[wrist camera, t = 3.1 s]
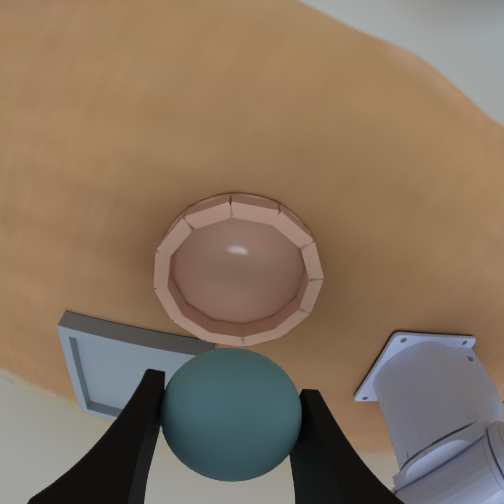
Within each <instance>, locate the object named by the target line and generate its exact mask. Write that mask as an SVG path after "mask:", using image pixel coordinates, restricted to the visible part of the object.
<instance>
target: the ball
mask: <svg viewBox="0 0 504 504" xmlns="http://www.w3.org/2000/svg"><path fill="white" fill-rule="evenodd" d="M160 421H161V427H162V431H163V434H164V437H165V439H166V441H167V444H168V445H169V447H170V449H171V450H172V452H173V453H174V454H175V455H176V457H178V459H179V460H180V461H181V462H182V463H184V464H185V465H186V466H187V467H189V468H190V469H191V470H193V471H195V472H197V473H199V474H200V475H203V476H205V477H208V478H211V479H215V480H220V481H231V482H232V481H233V482H234V481H244V480H249V479H253V478H256V477H259V476H262V475H263V474H265V473H267V472H269V471H271V470H273V469H274V468H275V467H277V466H278V465H279V464H280V463H282V462H283V460H284V459H285V458H286V457H287V456H288V455H289V454H290V452H291V451H292V449H293V447H294V446H295V444H296V442H297V439H298V437H299V433H300V429H301V425H302V407H301V402H300V399H299V395H298V392H297V390H296V388H295V386H294V384H293V382H292V381H291V379H290V378H289V376H288V375H287V374H286V373H285V372H284V371H283V370H282V369H281V368H280V367H279V366H278V365H277V364H276V363H274V362H273V361H271V360H270V359H268V358H267V357H265V356H263V355H261V354H258V353H255V352H252V351H249V350H245V349H239V348H221V349H215V350H211V351H207V352H204V353H202V354H199V355H197V356H195V357H193V358H192V359H190V360H189V361H187V362H186V363H185V364H183V365H182V366H181V367H180V368H179V369H178V370H177V371H176V372H175V373H174V375H173V376H172V378H171V379H170V381H169V382H168V384H167V386H166V388H165V390H164V393H163V396H162V400H161V407H160Z"/></svg>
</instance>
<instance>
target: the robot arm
mask: <svg viewBox="0 0 504 504" xmlns="http://www.w3.org/2000/svg"><path fill="white" fill-rule="evenodd" d="M475 342H476V339H475V337H474V336H457V335H438V334H422V333H408V332H396V333H394V334H393V335H392V337H391V338H390V340H389V342H388V343H387V345H386V347H385V348H384V350H383V352H382V353H381V355H380V357H379V358H378V360H377V362H376V363H375V365H374V366H373V368H372V369H371V371H370V373H369V374H368V376H367V377H366V379H365V380H364V382H363V383H362V385H361V386H360V388H359V389H358V391H357V392H356V394H355V395H354V398H355V401H378V403H379V406H380V409H381V412H382V415H383V418H384V421H385V424H386V427H387V430H388V433H389V436H390V439H391V442H392V446H393V449H394V452H395V455H396V458H397V462H398V465H399V468H400V472H399V473H398V474H396V475H394V476H393V481H394V484H395V487H394V488H393V489H392V490H391V491H390V490H388V488H387V487H385V486H384V485H383V484H382V483H381V482H380V481H379V479H377V477H376V476H375V475H374V474H373V473H372V472H371V471H370V470H369V468H368V467H367V466H366V465H365V464H364V462H363V461H362V460H361V458H360V457H359V456H358V454H357V453H356V452H355V450H354V449H353V447H352V446H351V444H350V443H349V441H348V440H347V438H346V437H345V435H344V434H343V432H342V431H341V429H340V427H339V426H338V424H337V422H336V421H335V419H334V417H333V415H332V414H331V412H330V410H329V408H328V407H327V405H326V403H325V401H324V399H323V398H322V396H321V394H320V392H319V391H318V390H312V389H303V390H302V391H301V393H300V395H299V399H300V402H301V407H302V425H301V429H300V433H299V437H298V439H297V442H296V444H295V446H294V447H293V449H292V451H291V452H290V454H289V455H290V462H291V468H292V475H293V481H294V490H295V504H504V422H502V421H501V417H502V401H501V397H500V394H499V391H498V390H497V388H496V386H495V385H494V383H493V381H492V380H491V378H490V376H489V375H488V373H487V371H486V370H485V368H484V367H483V365H482V364H481V362H480V360H479V359H478V357H477V356H476V354H475V353H474V351H473V350H472V346H473V345H474V343H475ZM164 390H165V371H160V370H154V369H150V368H149V369H147V370H146V371H145V373H144V375H143V377H142V379H141V381H140V383H139V385H138V387H137V388H136V390H135V392H134V393H133V395H132V397H131V398H130V400H129V401H128V403H127V404H126V406H125V407H124V409H123V410H122V412H121V413H120V414H119V416H118V417H117V419H116V420H115V421H114V422H113V424H112V425H111V426H110V428H109V429H108V430H107V432H106V433H105V434H104V435H103V436H102V437H101V439H100V440H99V441H98V442H97V443H96V444H95V445H94V446H93V447H92V449H91V450H90V451H89V452H88V453H87V454H86V455H85V456H84V457H83V458H82V459H81V460H80V461H79V462H78V463H76V464H75V465H74V466H73V467H72V468H71V469H70V470H69V471H67V472H66V473H65V474H64V475H62V476H61V477H60V478H59V479H57V480H56V481H55V482H54V483H52V484H51V485H50V486H48V487H47V488H45V489H44V490H42V491H41V492H40V493H38V494H36V495H35V496H33V497H32V498H31V499H30V500H29V502H28V503H27V504H144V499H145V490H146V483H147V478H148V473H149V469H150V465H151V461H152V457H153V454H154V449H155V446H156V442H157V438H158V434H159V431H160V427H161V421H160V407H161V400H162V396H163V393H164Z"/></svg>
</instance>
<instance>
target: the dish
mask: <svg viewBox="0 0 504 504" xmlns="http://www.w3.org/2000/svg"><path fill="white" fill-rule="evenodd" d="M323 278H324V276H323V272H322V268H321V264H320V260H319V256H318V252H317V248H316V244H315V241H314V239H313V237H312V234H311V232H310V230H309V229H307V228H306V227H305V225H304V224H303V223H302V221H301V220H300V219H299V218H298V217H297V216H296V215H295V214H294V213H293V212H291V211H290V210H289V209H288V208H286V207H285V206H283V205H281V204H279V203H278V202H276V201H273V200H271V199H268V198H266V197H262V196H258V195H254V194H247V193H228V194H221V195H217V196H213V197H209V198H207V199H204V200H202V201H199V202H198V203H196V204H194V205H192V206H191V207H189V208H188V209H187V210H185V211H184V212H183V213H181V214H180V215H179V217H178V218H177V219H176V220H175V221H174V222H173V223H172V225H171V226H170V228H169V229H168V231H167V233H166V234H165V236H164V237H163V238H162V239H161V241H160V243H159V245H158V248H157V250H156V254H155V269H154V286H153V288H154V291H155V292H156V294H157V296H158V298H159V299H160V301H161V303H162V305H163V306H164V308H165V310H166V311H167V313H168V315H169V317H170V318H171V320H173V322H175V323H176V324H178V325H179V326H181V327H182V328H184V329H186V330H187V331H189V332H190V333H192V334H194V335H195V336H197V337H199V338H200V339H202V340H203V341H204V340H205V339H206V342H213V343H219V344H226V345H233V346H240V347H243V344H244V346H250V345H254V344H258V343H262V342H266V341H269V340H273V339H277V338H280V336H282V337H283V336H284V335H285V334H286V333H288V332H289V331H290V330H291V329H293V328H294V327H295V326H296V325H297V324H299V323H300V322H301V321H302V320H304V319H305V318H306V317H307V316H308V315H310V313H311V312H312V309H313V307H314V304H315V302H316V299H317V297H318V294H319V291H320V289H321V286H322V283H323V281H324V279H323ZM309 312H310V313H309Z"/></svg>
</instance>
